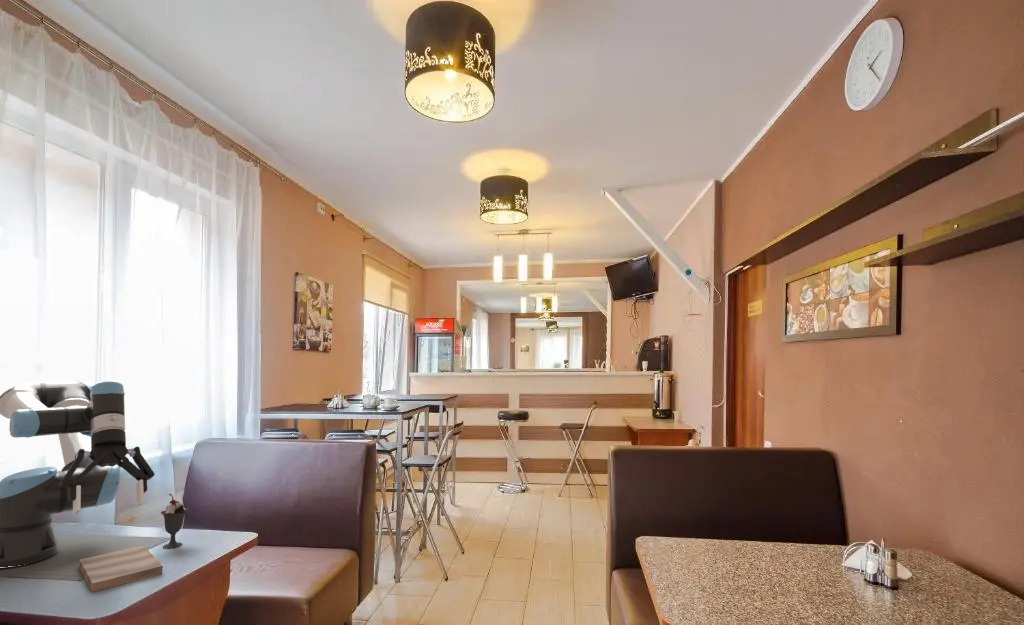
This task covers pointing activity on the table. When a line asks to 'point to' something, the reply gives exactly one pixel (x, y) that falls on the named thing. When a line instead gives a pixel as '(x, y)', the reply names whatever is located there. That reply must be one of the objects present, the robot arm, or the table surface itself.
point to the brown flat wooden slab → (119, 567)
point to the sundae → (173, 521)
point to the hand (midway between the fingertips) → (109, 508)
